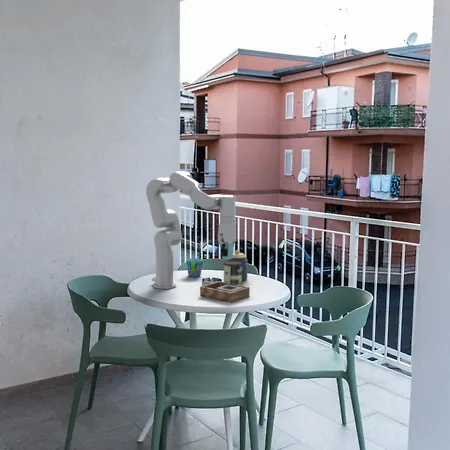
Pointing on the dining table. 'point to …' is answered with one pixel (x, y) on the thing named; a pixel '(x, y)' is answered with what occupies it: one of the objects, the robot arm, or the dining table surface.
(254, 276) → the dining table surface
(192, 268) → the snack cup
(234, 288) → the socket
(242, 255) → the canister
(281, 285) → the dining table surface
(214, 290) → the bin
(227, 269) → the coffee can
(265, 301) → the dining table surface
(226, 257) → the teal salt shaker
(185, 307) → the dining table surface
